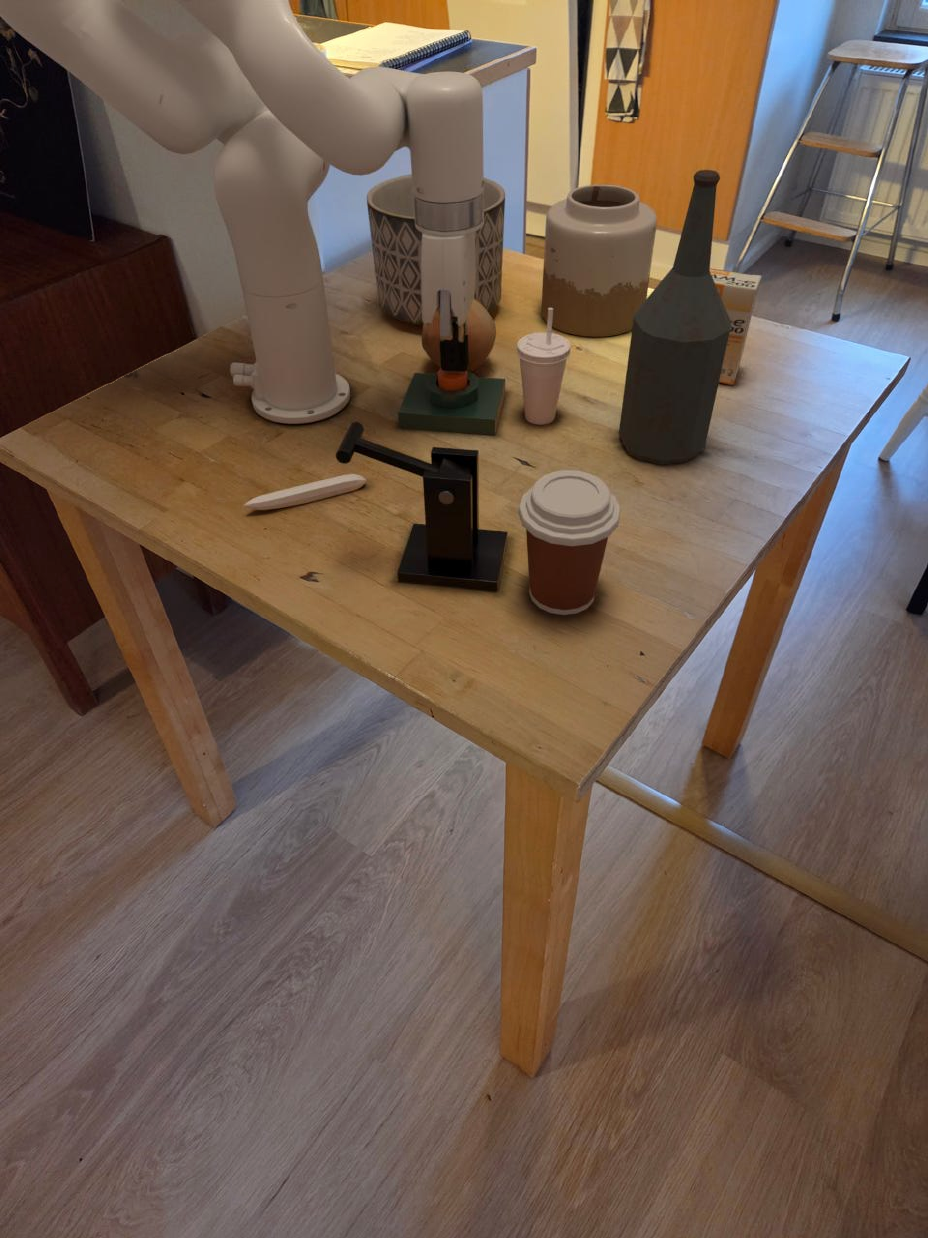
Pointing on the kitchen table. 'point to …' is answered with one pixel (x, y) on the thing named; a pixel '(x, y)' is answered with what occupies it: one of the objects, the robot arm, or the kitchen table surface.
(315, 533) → the kitchen table surface
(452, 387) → the button
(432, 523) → the bracket
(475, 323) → the onion
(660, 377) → the bottle
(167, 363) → the kitchen table surface
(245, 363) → the robot arm
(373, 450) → the lever
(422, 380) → the button block
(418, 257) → the planter
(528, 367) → the smoothie
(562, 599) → the coffee cup
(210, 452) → the kitchen table surface
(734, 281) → the supplement box
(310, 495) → the pen
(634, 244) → the vase
